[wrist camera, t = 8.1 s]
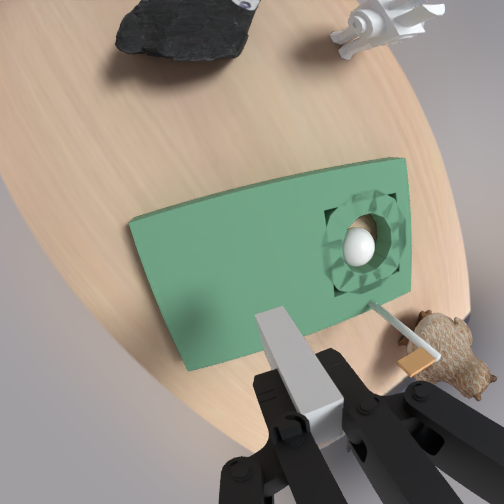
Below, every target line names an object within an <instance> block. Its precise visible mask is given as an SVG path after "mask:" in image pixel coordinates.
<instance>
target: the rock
mask: <svg viewBox="0 0 504 504" xmlns="http://www.w3.org/2000/svg"><path fill="white" fill-rule="evenodd" d="M260 1H261V0H141V1H140V3H139V4H138V5H136V6H135V8H134V9H133V10H132V11H131V12H130V13H128V14H127V15H126V16H125V17H124V18H123V20H122V22H121V24H120V27H119V30H118V32H117V34H116V42H115V45H116V47H117V48H118V49H119V50H120V51H122V52H125V53H127V54H142V53H147V55H148V56H154V57H165V58H170V59H173V60H177V61H191V62H193V61H210V60H214V59H218V58H236V57H238V56H239V55H240V54H241V52H242V50H243V48H244V46H245V44H246V42H247V39H248V34H247V33H248V30H249V27H250V25H251V22H252V19H253V17H254V14H255V12H256V9H257V7H258V5H259V3H260Z"/></svg>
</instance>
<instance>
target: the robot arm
mask: <svg viewBox="0 0 504 504" xmlns="http://www.w3.org/2000/svg"><path fill="white" fill-rule="evenodd" d="M255 318H256V322H257V326H258V329H259V333H260V337H261V341H262V345H263V348H264V352H265V355H266V357H267V360H268V362H269V364H270V366H271V369H272V370H271V371H268V372H265V373H262V374H259V375H256V376H255V377H254V382H253V387H254V390H255V393H256V396H257V399H258V402H259V405H260V408H261V411H262V414H263V416H264V419H265V422H266V425H267V428H268V431H269V439H268V441H267V443H266V445H265V446H264V447H263V448H262V449H261V450H259V451H258V452H256V453H255V454H253V455H252V456H250V457H242V456H241V457H236V458H233V459H231V460H229V461H228V462H227V463H226V464H225V465H224V466H223V468H222V471H221V479H220V492H219V504H274V494H275V493H277V492H278V491H280V490H282V489H283V488H285V487H286V486H288V485H289V486H290V489H291V491H292V494H293V496H294V498H295V501H296V503H297V504H348V503H347V502H346V500H345V498H344V496H343V494H342V492H341V490H340V488H339V486H338V484H337V483H336V481H335V479H334V477H333V475H332V473H331V471H330V470H329V467H328V465H327V464H326V462H325V460H324V457H323V455H322V453H321V451H320V449H319V448H318V446H317V445H319V444H322V443H324V442H326V441H329V440H331V439H333V438H336V437H338V436H340V435H342V431H343V430H344V432H345V434H346V435H347V447H346V449H347V452H350V449H351V450H352V452H353V454H354V455H355V457H356V459H357V460H358V462H359V464H360V466H361V467H362V469H363V471H364V472H365V474H366V476H367V477H368V479H369V481H370V483H371V484H372V486H373V488H374V489H375V491H376V493H377V494H378V496H379V497H380V499H381V501H382V503H383V504H463V503H462V501H461V500H460V498H459V497H458V496H457V494H456V493H455V492H454V490H453V489H452V488H451V486H450V485H449V484H448V482H447V481H446V480H445V478H444V477H443V476H442V475H441V473H440V472H439V471H438V470H437V468H436V467H438V468H439V469H440V470H442V471H443V472H444V473H446V474H447V475H449V476H450V477H452V478H453V479H454V480H456V481H457V482H459V483H460V484H462V485H463V486H464V487H466V488H467V489H469V490H470V491H472V492H473V493H475V494H476V495H478V496H479V497H481V498H482V499H484V500H486V501H487V502H489V503H490V504H504V427H502V426H501V425H499V424H497V423H495V422H494V421H492V420H491V419H489V418H487V417H485V416H484V415H482V414H481V413H479V412H477V411H475V410H474V409H472V408H471V407H469V406H467V405H466V404H464V403H463V402H461V401H459V400H458V399H456V398H454V397H453V396H451V395H450V394H448V393H446V392H445V391H443V390H441V389H440V388H438V387H437V386H435V385H433V384H432V383H430V382H427V381H420V380H419V381H416V382H413V383H411V384H410V385H408V387H407V388H406V390H405V392H403V393H399V394H395V395H390V396H379V395H377V394H374V393H372V392H371V391H369V390H368V388H367V387H366V386H365V385H364V383H363V382H362V381H361V379H360V378H359V377H358V375H357V374H356V373H355V372H354V370H353V369H352V368H351V366H350V365H349V364H348V362H346V360H345V359H344V357H343V356H342V355H341V353H339V352H338V351H336V350H334V349H332V348H329V349H326V350H324V351H321V352H319V353H316V354H314V352H313V351H312V349H311V348H310V346H309V345H308V343H307V342H306V340H305V339H304V337H303V336H302V334H301V333H300V331H299V329H298V328H297V326H296V325H295V323H294V322H293V320H292V319H291V317H290V316H289V314H288V313H287V311H286V310H285V308H284V307H283V306H280V307H277V308H274V309H271V310H268V311H265V312H262V313H258V314H255ZM435 466H436V467H435Z"/></svg>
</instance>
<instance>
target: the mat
mask: <svg viewBox="0 0 504 504" xmlns="http://www.w3.org/2000/svg"><path fill="white" fill-rule="evenodd" d="M369 213H370V215H371V216H372V218H373V219H374V221H375V222H376V228H377V239H376V242H375V250H374V254H373V256H372V258H371V259H370V260H369V261H368V262H367V263H366V264H364V265H361V266H351V265H347V264H346V263H345V262H344V259H343V249H342V243H343V241H344V238H345V235H346V232H347V229H348V227H349V226H350V225H351V224H352V223H353V222H354V221H355V220H356V219H357V218H358V217H359V216H362V215H366V214H369ZM129 226H130V229H131V232H132V236H133V239H134V242H135V245H136V248H137V250H138V253H139V256H140V259H141V262H142V265H143V267H144V270H145V273H146V276H147V278H148V281H149V283H150V286H151V289H152V291H153V294H154V296H155V299H156V301H157V304H158V306H159V309H160V311H161V313H162V316H163V318H164V320H165V323H166V325H167V327H168V330H169V332H170V334H171V336H172V339H173V341H174V343H175V345H176V347H177V350H178V352H179V354H180V356H181V358H182V360H183V362H184V364H185V366H186V368H187V370H188V371H192V370H196V369H200V368H204V367H208V366H212V365H215V364H219V363H223V362H226V361H230V360H233V359H236V358H240V357H243V356H247V355H250V354H253V353H256V352H259V351H263V350H264V348H263V345H262V341H261V337H260V333H259V329H258V326H257V322H256V318H255V314H258V313H262V312H265V311H268V310H271V309H274V308H277V307H280V306H283V307H284V308H285V310H286V311H287V313H288V314H289V316H290V317H291V319H292V320H293V322H294V323H295V325H296V326H297V328H298V329H299V331H300V333H301V334H302V336H303V337H304V336H306V335H309V334H312V333H314V332H317V331H320V330H322V329H325V328H328V327H330V326H333V325H335V324H338V323H340V322H343V321H345V320H348V319H350V318H352V317H355V316H357V315H359V314H362V313H364V312H366V311H369V310H371V309H373V310H375V311H376V312H377V313H378V314H379V315H381V316H382V317H383V318H384V319H385V320H387V321H388V322H389V323H390V324H391V325H393V326H394V327H395V328H396V329H397V330H399V331H400V332H401V333H402V334H403V335H404V336H406V337H407V338H408V339H409V340H410V341H411V342H413V343H414V344H415V345H416V346H417V347H418V348H419V349H417V350H415V351H414V352H412V353H410V354H409V355H407V356H405V357H403V358H402V359H400V360H398V361H397V364H398V365H399V366H400V367H401V368H402V369H403V370H404V371H405V372H406V373H407V374H408V375H409V376H410V377H412V376H413V375H415V374H417V373H418V372H420V371H421V370H423V369H424V368H426V367H428V366H429V365H431V364H432V363H434V362H437V361H438V360H439V359H440V358H441V354H440V353H438V352H437V351H436V350H435V349H434V348H432V347H431V346H430V345H429V344H428V343H426V342H425V341H424V340H423V339H421V338H420V337H419V336H418V335H416V334H415V333H414V332H413V331H412V330H410V329H409V328H408V327H407V326H405V325H404V324H403V323H402V322H400V321H399V320H398V319H397V318H395V317H394V316H393V315H392V314H390V313H389V312H388V311H386V310H385V309H384V308H383V307H381V306H380V305H382V304H384V303H387V302H389V301H391V300H393V299H395V298H397V297H399V296H402V295H404V294H406V293H408V292H410V291H411V265H412V238H411V211H410V196H409V185H408V175H407V166H406V159H405V158H393V157H389V158H382V159H376V160H370V161H363V162H357V163H352V164H346V165H340V166H335V167H330V168H325V169H319V170H314V171H309V172H305V173H300V174H295V175H290V176H286V177H281V178H277V179H272V180H268V181H264V182H259V183H255V184H251V185H247V186H243V187H239V188H235V189H231V190H227V191H223V192H219V193H216V194H212V195H208V196H205V197H201V198H197V199H194V200H190V201H187V202H183V203H180V204H176V205H173V206H170V207H166V208H163V209H160V210H156V211H153V212H150V213H147V214H143V215H140V216H137V217H134V218H133V219H132V220H131V221H130V222H129Z"/></svg>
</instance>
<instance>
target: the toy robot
mask: <svg viewBox="0 0 504 504" xmlns="http://www.w3.org/2000/svg"><path fill="white" fill-rule="evenodd" d="M426 1H429V0H367V1H366V2H364V3H363V4H362V5H360V6H359V7H357V8H356V9H355V10H353V11H352V12H350V13H351V14H350V18H349V20H348V24H349V27H347V28H345V29H344V30H342V31H333V32H332V33H331V34H330V37H331V39H332V41H333V42H334V43H337V44H340V45H342V44H344V43H346V42H348V41H350V40H352V39H354V38H356V37H358V36H359V38H357V39H355V40H353V41H351V42H349V43H347V44H345V45H343V46H341V48H340V49H339V50H338V52H339V54H340V56H341V58H343V59H346V60H350V58H351V57H352V56H353V55H354V54H356V53H358V52H361V51H363V50H369V49H371V48H374V47H378V46H383V45H392V44H396V43H400V42H403V41H406V40H408V39H411V38H412V37H413V36H416V35H419V34H421V33H424V32H425V31H424V29H423V25H424V21H427V20H429V19H432V18H435V17H438V16H440V15H443V13H444V12H445V7H444V4H440V5H420V6H418V7H416V6H417V5H419V4H421V3H424V2H426ZM414 7H416V8H414Z"/></svg>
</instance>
